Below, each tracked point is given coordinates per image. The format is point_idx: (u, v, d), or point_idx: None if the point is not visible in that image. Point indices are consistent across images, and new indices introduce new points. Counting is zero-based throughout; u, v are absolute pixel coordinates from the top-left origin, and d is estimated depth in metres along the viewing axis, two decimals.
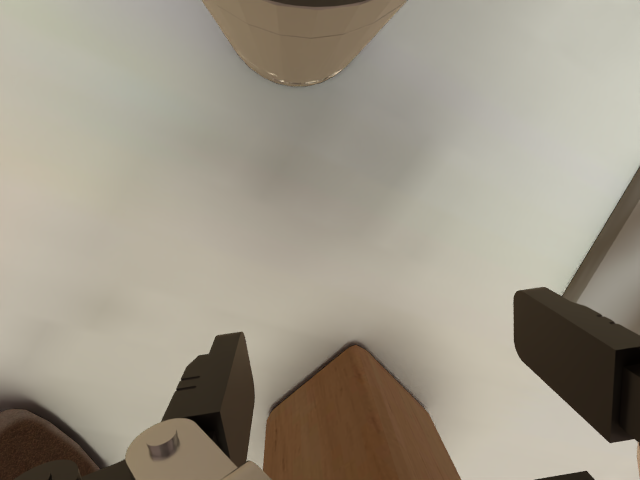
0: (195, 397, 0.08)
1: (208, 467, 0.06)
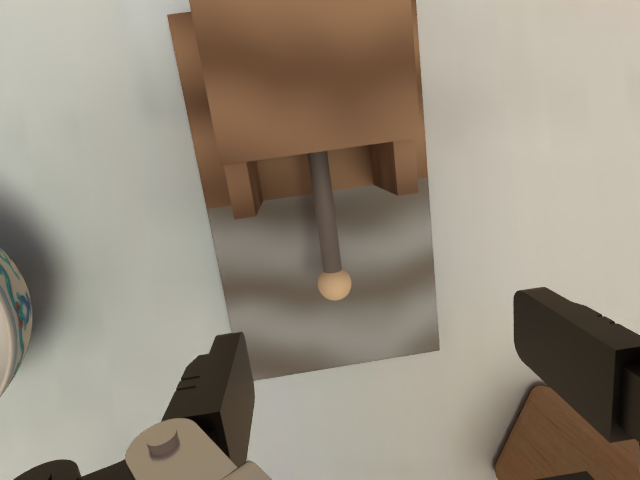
0: (195, 397, 0.08)
1: (208, 467, 0.06)
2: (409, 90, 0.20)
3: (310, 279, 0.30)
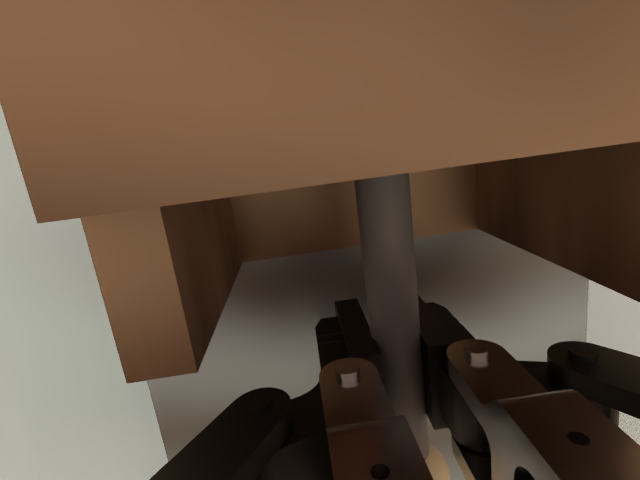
0: (350, 345, 0.09)
1: (374, 407, 0.07)
2: None
3: None
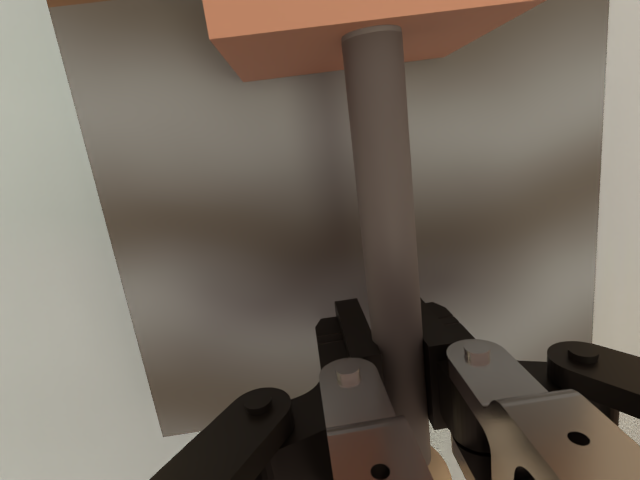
0: (350, 345, 0.09)
1: (374, 407, 0.07)
2: None
3: (314, 204, 0.13)
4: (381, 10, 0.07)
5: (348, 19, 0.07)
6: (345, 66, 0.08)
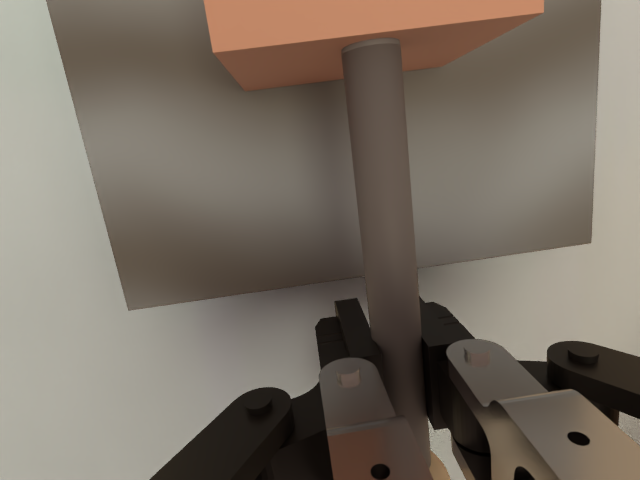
0: (350, 345, 0.09)
1: (374, 407, 0.07)
2: None
3: None
4: (380, 24, 0.07)
5: (348, 33, 0.07)
6: (345, 77, 0.08)
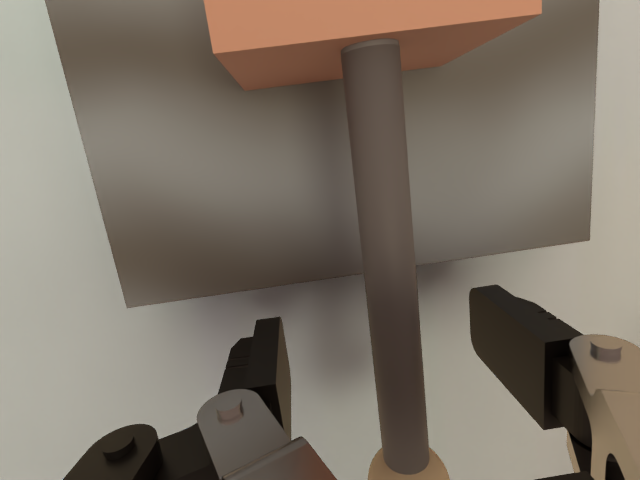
0: (249, 372, 0.09)
1: (266, 437, 0.07)
2: None
3: None
4: (379, 25, 0.07)
5: (347, 34, 0.07)
6: (344, 78, 0.08)
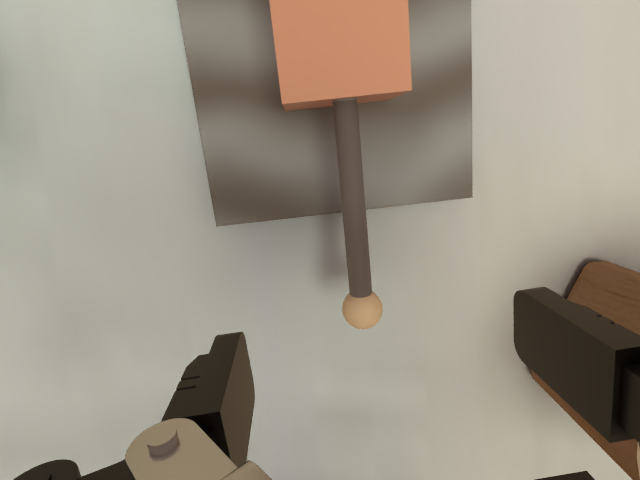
0: (195, 397, 0.08)
1: (208, 467, 0.06)
2: None
3: None
4: (346, 94, 0.18)
5: (334, 97, 0.18)
6: (333, 112, 0.19)
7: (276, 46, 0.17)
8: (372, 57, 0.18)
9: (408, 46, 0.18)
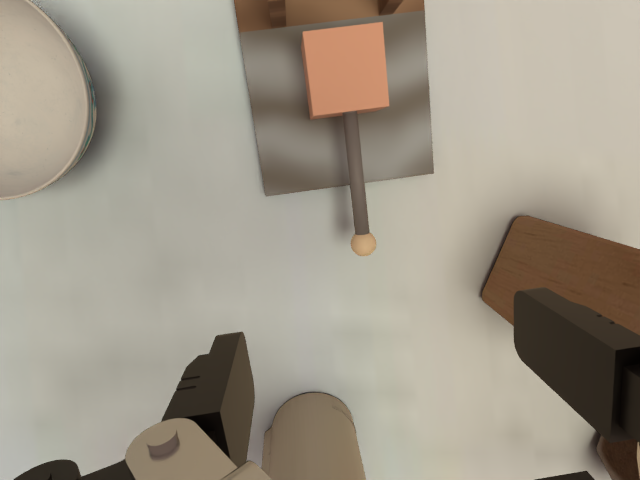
0: (195, 397, 0.08)
1: (208, 467, 0.06)
2: None
3: None
4: (351, 109, 0.31)
5: (343, 111, 0.31)
6: (343, 120, 0.32)
7: (310, 82, 0.30)
8: (365, 87, 0.30)
9: (386, 80, 0.30)
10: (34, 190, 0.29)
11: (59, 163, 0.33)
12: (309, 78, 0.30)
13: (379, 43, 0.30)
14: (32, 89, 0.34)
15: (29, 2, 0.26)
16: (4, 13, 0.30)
